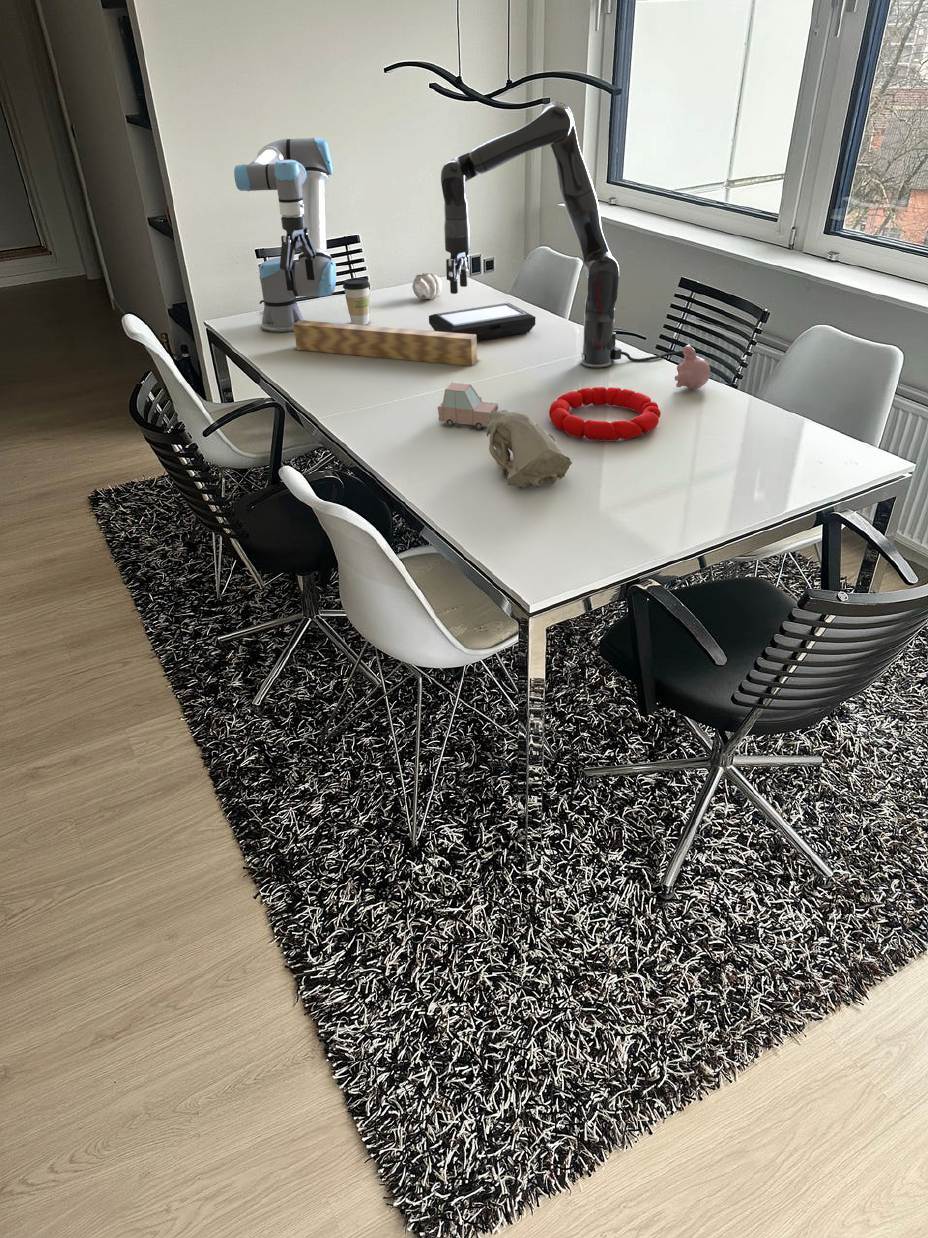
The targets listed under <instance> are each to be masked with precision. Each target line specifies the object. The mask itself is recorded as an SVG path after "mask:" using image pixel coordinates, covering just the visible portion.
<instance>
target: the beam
mask: <svg viewBox="0 0 928 1238" xmlns="http://www.w3.org/2000/svg"><path fill="white" fill-rule="evenodd" d="M293 325H294V330H293V331H294V340H295V346H296V350H297V351H298V350H299V351H309V352H319V353H328V354H329V353H330V354H340V355H352V356H363V357H372V358H373V357H374V358H384V359H394V360H404V361H405V360H406V361H415V362H427V363H437V364H448V365H459V366H468V367H469V366H470V367H472V366H474V365H475V364H476V362H478V345H477V342H478V340H477V335H475V334H463V333H451V332H439V331H435V330H425V329H413V328H401V327H389V326H388V327H387V326H378V325H367V324H366V325H353V324H352V323H341V322H328V321H315V320H305V319H304V320H300V321H298V322H296V323H295V324H293Z"/></svg>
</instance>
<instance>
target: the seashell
mask: <svg viewBox="0 0 928 1238" xmlns="http://www.w3.org/2000/svg"><path fill="white" fill-rule="evenodd" d="M411 288H412V291H413V293H414V295H415V296H416V297H417V298H418V299H420V300H426V299H428V300H432V299H435V298H437V297H438V296H439V295H440V294H441V291H442V289H443V282H442V280H441V278H440V276H437V275H436V273H429V272H428V273H427V272H426V273H424V272H423V273H422V274H416V275H415V278H414V279H413V282H412V287H411Z"/></svg>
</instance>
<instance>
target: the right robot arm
mask: <svg viewBox="0 0 928 1238" xmlns="http://www.w3.org/2000/svg"><path fill="white" fill-rule="evenodd" d="M546 146H550V148H551V150H552V154H553V156H554V159H555V163H556V171H557V178H558V185H559V189H560V194H561V198H562V202H563V204H564V207H565V211H566V213H567V216H568V219H569V221H570V224H571V227H572V229H573V231H574V233H575V235H576V238H577V240H578V243H579V247H580V251H581V256H582V261H583V265H584V267H583V268H584V271H585V275H586V277H587V291H586V298H585V300H584V314H583V315H584V317H583V337H582V338H583V339H582V352H581V357H580V358H581V364H582V366H584V367H588V368H590V369H591V368H592V369H603V368H607V367H609V366H611V365H613V364H615V361H617V360H621V359H622V355H623V356H625V357H626V358H627V359H628V360H629V361H630V362H635V363H639V362H646V361H653V360H658V359H661V358H664V357H670V356H671V357H672V356H677V355H684V353H683V350H678V351H672V352H665V353H662V354H658V355H654V356H647V357H643V358H635V357H631V355H630V354H629V353H628V352H626V351H622V348H620V347H617V346H616V339H617V333H616V332H615V331H614V329H615V328H614V326H615V313H616V312H615V311H616V303H617V300H618V294H619V293H618V292H619V284H620V283H619V281H620V267H619V264H618V262H617V260H616V259H615V257H614V256H613V255H612V253H611V251H610V249H609V246H608V243H607V241H606V239H605V236H604V233H603V229H602V221H601V214H600V206H599V201H598V198H597V193H596V190H595V187H594V184H593V181H592V178H591V175H590V173H589V169H588V167H587V165H586V162H585V160H584V157H583V155H582V151H581V149H580V145H579V140H578V135H577V130H576V126H575V120H574V114H573V111H572V108H570V107H569V106H568V105H567V104H566V103H565V102H563V101H561V100H553V101H551V102H549V103H547V105H546V106H545V107H544V108H543V109H542V112H541V113H540V114H539V115H538V116H537V117H536V118H534V119H533V120H531V121H530V122H529V123H527V124H526V125H524V126H522V127H520V128H518V129H516V130H514V131H511V132H508V133H505V134H503V135H500V136H497V137H495V138H492V139H489V140H488V141H485V142H484V143H482V144H480V145H478V146H476V147H474V148H473V149H472V150H470V151H468V152H465V153H463V154H460V155H458V156H456V157H454V158H452V159H450V160H449V161H447V162H446V163H444V165H443V166H442V168H441V172H440V184H441V185H440V186H441V192H442V196H443V201H444V202H443V203H444V205H443V207H444V211H443V212H444V227H443V229H444V231H443V232H444V249H445V252H447V253H449V254H450V257H449V258H446V259H445V266H446V267H445V269H446V270H445V273H446V275H445V276H446V281H449V292H450V294H452V295H457V294H458V293H459V287H462V288H467V286H468V273H469V271H470V270H471V259H470V250H471V236H470V235H471V231H470V220H469V203H468V202H469V201H468V198H467V197H466V188H465V186H466V185H465V183H467V182H468V181H470V180H472V179H473V178H475V177H477V176H479V175H483V174H486V173H488V172H491V171H492V170H494V169H496V168H498V167H500V166H502V165H504V164H507V163H508V162H510V161H512V160H513V159H516V158H517V157H520V156H522V155H524V154H527V153H528V152H531V151H534V150H536V149H539V148H543V147H546ZM458 279H459V281H458ZM458 283H459V284H458Z"/></svg>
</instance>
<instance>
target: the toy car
mask: <svg viewBox="0 0 928 1238" xmlns="http://www.w3.org/2000/svg"><path fill="white" fill-rule="evenodd" d="M498 409H499V404H498V403H497V402H490V401H489V402H487V401H483V397H481V396H480V395H479V394H478V393H477V391H476V390H475V389H474V386H472V384H469V383H459V382H451V383H450V384H449V385H448V386H447V387H446V388H445V389H444V394H443V399H442V403H440V404H439V405H438V406H437V413H438V421H439V422H443V423H446V425H447V426H448V427H452V426H454V425H455V424H461V425H469V426H473V427H475V429H476V430H479V431H480V430H481V429H483V428H485V427H486V428H487V423H488V422H490V414H491V413H492V412H496V411H499V410H498Z"/></svg>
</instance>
